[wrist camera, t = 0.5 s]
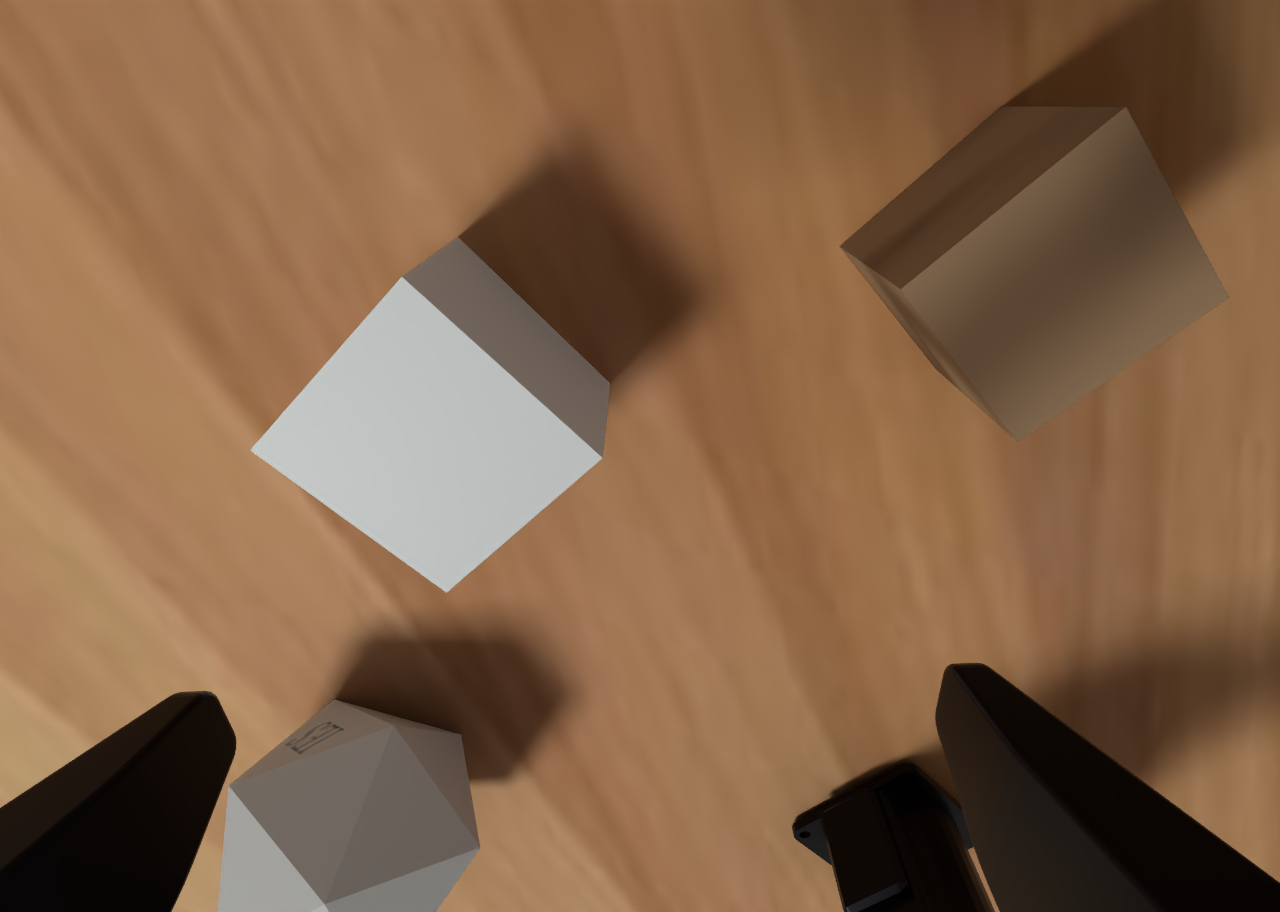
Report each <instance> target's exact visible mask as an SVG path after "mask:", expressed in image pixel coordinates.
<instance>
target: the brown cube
mask: <svg viewBox="0 0 1280 912" xmlns="http://www.w3.org/2000/svg"><path fill="white" fill-rule="evenodd" d="M840 248H841V249H842V250H843V251H844V253H845V254H846V255H847V257H848V258H849V259H850V260H851V262H852V263H853V264H854V265H855V267H856V268H857V269H858V271H859V272H860V273H861V274H862V276H863V277H864V278H865V279H866V281H867V282H868V283H869V285H870V286H871V287H872V288H873V290H874V291H875V292H876V293H877V295H878V296H879V297H880V299H881V300H882V301H883V302H884V304H885V305H886V306H887V307H888V309H889V310H890V311H891V313H892V314H893V315H894V316H895V318H896V319H897V320H898V321H899V323H900V324H901V325H902V327H903V328H904V329H905V330H906V332H907V333H908V334H909V335H910V337H911V338H912V339H913V341H914V342H915V343H916V344H917V346H918V347H919V348H920V349H921V351H922V352H923V353H924V355H925V356H926V357H927V358H928V360H929V361H930V362H931V363H932V365H933V366H934V367H935V369H936V370H937V371H939V372H940V373H941V374H942V375H943V376H944V377H945V378H946V379H948V380H949V381H950V382H951V383H952V384H953V385H954V386H955V387H957V388H958V389H959V390H960V391H961V392H962V393H963V394H964V395H965V396H967V397H968V398H969V399H970V400H971V401H972V402H973V403H974V404H976V405H977V406H978V407H979V408H980V409H981V410H982V411H983V412H985V413H986V414H987V415H988V416H989V417H990V418H991V419H992V420H994V421H995V422H996V423H997V424H998V425H999V426H1000V427H1001V428H1002V429H1004V430H1005V431H1006V432H1007V433H1008V434H1009V435H1010V436H1011V437H1013V438H1014V439H1015V440H1016V441H1017V442H1018V441H1019V440H1021V439H1022V438H1024V437H1025V436H1026V435H1028V434H1029V433H1031V432H1032V431H1034V430H1035V429H1037V428H1038V427H1040V426H1041V425H1043V424H1044V423H1046V422H1047V421H1049V420H1050V419H1052V418H1053V417H1054V416H1056V415H1057V414H1059V413H1060V412H1062V411H1063V410H1065V409H1066V408H1068V407H1069V406H1071V405H1072V404H1074V403H1075V402H1077V401H1078V400H1080V399H1081V398H1083V397H1084V396H1085V395H1087V394H1088V393H1090V392H1091V391H1093V390H1094V389H1096V388H1097V387H1099V386H1100V385H1102V384H1103V383H1105V382H1106V381H1108V380H1109V379H1111V378H1112V377H1113V376H1115V375H1116V374H1118V373H1119V372H1121V371H1122V370H1124V369H1125V368H1127V367H1128V366H1130V365H1131V364H1133V363H1134V362H1136V361H1137V360H1139V359H1140V358H1141V357H1143V356H1144V355H1146V354H1147V353H1149V352H1150V351H1152V350H1153V349H1155V348H1156V347H1158V346H1159V345H1161V344H1162V343H1164V342H1165V341H1167V340H1168V339H1169V338H1171V337H1172V336H1174V335H1175V334H1177V333H1178V332H1180V331H1181V330H1183V329H1184V328H1186V327H1187V326H1189V325H1190V324H1192V323H1193V322H1195V321H1196V320H1198V319H1199V318H1200V317H1202V316H1203V315H1205V314H1206V313H1208V312H1209V311H1211V310H1212V309H1214V308H1215V307H1217V306H1218V305H1220V304H1221V303H1223V302H1224V301H1226V300H1227V299H1228V298H1229V296H1228V294H1227V292H1226V291H1225V289H1224V287H1223V285H1222V283H1221V281H1220V279H1219V278H1218V276H1217V274H1216V272H1215V270H1214V268H1213V267H1212V265H1211V263H1210V261H1209V259H1208V257H1207V255H1206V254H1205V252H1204V250H1203V248H1202V246H1201V244H1200V242H1199V241H1198V239H1197V237H1196V235H1195V233H1194V231H1193V230H1192V228H1191V226H1190V224H1189V222H1188V220H1187V218H1186V217H1185V215H1184V213H1183V211H1182V209H1181V207H1180V205H1179V204H1178V202H1177V200H1176V198H1175V196H1174V194H1173V193H1172V191H1171V189H1170V187H1169V185H1168V183H1167V181H1166V180H1165V178H1164V176H1163V174H1162V172H1161V170H1160V168H1159V167H1158V165H1157V163H1156V161H1155V159H1154V157H1153V156H1152V154H1151V152H1150V150H1149V148H1148V146H1147V144H1146V143H1145V141H1144V139H1143V137H1142V135H1141V133H1140V131H1139V130H1138V128H1137V126H1136V124H1135V122H1134V120H1133V119H1132V117H1131V115H1130V113H1129V111H1128V109H1127V107H1000V108H999V109H998V110H997V111H995V112H994V113H993V114H992V115H991V116H990V117H988V118H987V119H986V120H985V121H984V122H983V123H982V124H980V125H979V126H978V127H977V128H976V129H975V130H973V131H972V132H971V133H970V134H969V135H968V136H967V137H965V138H964V139H963V140H962V141H961V142H960V143H958V144H957V145H956V146H955V147H954V148H953V149H951V150H950V151H949V152H948V153H947V154H946V155H945V156H943V157H942V158H941V159H940V160H939V161H938V162H936V163H935V164H934V165H933V166H932V167H931V168H930V169H928V170H927V171H926V172H925V173H924V174H923V175H921V176H920V177H919V178H918V179H917V180H916V181H915V182H913V183H912V184H911V185H910V186H909V187H908V188H906V189H905V190H904V191H903V192H902V193H901V194H900V195H898V196H897V197H896V198H895V199H894V200H893V201H891V202H890V203H889V204H888V205H887V206H886V207H885V208H883V209H882V210H881V211H880V212H879V213H878V214H876V215H875V216H874V217H873V218H872V219H871V220H869V221H868V222H867V223H866V224H865V225H864V226H863V227H861V228H860V229H859V230H858V231H857V232H856V233H854V234H853V235H852V236H851V237H850V238H849V239H848V240H846V241H845V242H844V243H843V244H842V245H841V246H840Z"/></svg>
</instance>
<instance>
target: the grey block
mask: <svg viewBox="0 0 1280 912" xmlns="http://www.w3.org/2000/svg"><path fill="white" fill-rule="evenodd" d="M609 393H610V383H609V382H608V381H607V380H606V379H605V378H604V377H603V376H602V375H601V374H600V373H599V372H598V371H597V370H596V369H595V368H594V367H593V366H592V365H591V364H590V363H589V362H587V361H586V360H585V359H584V358H583V357H582V356H581V355H580V354H579V353H578V352H577V351H576V350H575V349H574V348H573V347H572V346H571V345H570V344H569V343H568V342H567V341H566V340H565V339H564V338H562V337H561V336H560V335H559V334H558V333H557V332H556V331H555V330H554V329H553V328H552V327H551V326H550V325H549V324H548V323H547V322H546V321H545V320H544V319H543V318H542V317H541V316H540V315H539V314H538V313H536V312H535V311H534V310H533V309H532V308H531V307H530V306H529V305H528V304H527V303H526V302H525V301H524V300H523V299H522V298H521V297H520V296H519V295H518V294H517V293H516V292H515V291H514V290H513V289H512V288H510V287H509V286H508V285H507V284H506V283H505V282H504V281H503V280H502V279H501V278H500V277H499V276H498V275H497V274H496V273H495V272H494V271H493V270H492V269H491V268H490V267H489V266H488V265H487V264H486V263H484V262H483V261H482V260H481V259H480V258H479V257H478V256H477V255H476V254H475V253H474V252H473V251H472V250H471V249H470V248H469V247H468V246H467V245H466V244H465V243H464V242H463V241H462V240H461V239H460V238H458V237H457V238H455V239H454V240H453V241H451V242H450V243H448V244H447V245H446V246H444V247H443V248H441V249H440V250H439V251H437V252H436V253H434V254H433V255H432V256H430V257H429V258H427V259H426V260H425V261H423V262H422V263H420V264H419V265H418V266H416V267H415V268H413V269H412V270H411V271H409V272H408V273H406V274H405V275H404V276H402V277H401V278H400V279H399V281H398V282H397V283H396V284H395V285H394V286H393V287H392V289H391V290H390V291H389V292H388V293H387V294H386V295H385V297H384V298H383V299H382V300H381V301H380V302H379V303H378V305H377V306H376V307H375V308H374V309H373V310H372V311H371V313H370V314H369V315H368V316H367V317H366V318H365V319H364V321H363V322H362V323H361V324H360V325H359V326H358V327H357V329H356V330H355V331H354V332H353V333H352V334H351V336H350V337H349V338H348V339H347V340H346V341H345V342H344V344H343V345H342V346H341V347H340V348H339V349H338V350H337V352H336V353H335V354H334V355H333V356H332V357H331V358H330V360H329V361H328V362H327V363H326V364H325V365H324V366H323V368H322V369H321V370H320V371H319V372H318V373H317V374H316V376H315V377H314V378H313V379H312V380H311V381H310V382H309V384H308V385H307V386H306V387H305V388H304V389H303V390H302V392H301V393H300V394H299V395H298V396H297V397H296V398H295V400H294V401H293V402H292V403H291V404H290V405H289V407H288V408H287V409H286V410H285V411H284V412H283V413H282V415H281V416H280V417H279V418H278V419H277V420H276V421H275V423H274V424H273V425H272V426H271V427H270V428H269V429H268V431H267V432H266V433H265V434H264V435H263V436H262V437H261V439H260V440H259V441H258V442H257V443H256V444H255V445H254V447H253V448H252V449H251V450H250V451H252V452H253V453H255V454H256V455H257V456H259V457H260V458H261V459H263V460H264V461H266V462H267V463H268V464H270V465H271V466H272V467H274V468H275V469H277V470H278V471H279V472H281V473H282V474H284V475H285V476H286V477H288V478H289V479H290V480H292V481H293V482H295V483H296V484H297V485H299V486H300V487H301V488H303V489H304V490H306V491H307V492H308V493H310V494H311V495H312V496H314V497H315V498H317V499H318V500H319V501H321V502H322V503H324V504H325V505H326V506H328V507H329V508H330V509H332V510H333V511H335V512H336V513H337V514H339V515H340V516H341V517H343V518H344V519H346V520H347V521H348V522H350V523H351V524H352V525H354V526H355V527H357V528H358V529H359V530H361V531H362V532H364V533H365V534H366V535H368V536H369V537H370V538H372V539H373V540H375V541H376V542H377V543H379V544H380V545H381V546H383V547H384V548H386V549H387V550H388V551H390V552H391V553H392V554H394V555H395V556H397V557H398V558H399V559H401V560H402V561H404V562H405V563H406V564H408V565H409V566H410V567H412V568H413V569H415V570H416V571H417V572H419V573H420V574H421V575H423V576H424V577H426V578H427V579H428V580H430V581H431V582H432V583H434V584H435V585H437V586H438V587H439V588H441V589H442V590H444V591H445V592H446V593H447V592H448V591H449V590H450V589H451V588H452V587H454V586H455V585H456V584H457V583H458V582H459V581H461V580H462V579H463V578H464V577H465V576H466V575H468V574H469V573H470V572H471V571H472V570H473V569H474V568H476V567H477V566H478V565H479V564H480V563H481V562H483V561H484V560H485V559H486V558H487V557H488V556H490V555H491V554H492V553H493V552H494V551H495V550H496V549H498V548H499V547H500V546H501V545H502V544H503V543H505V542H506V541H507V540H508V539H509V538H510V537H512V536H513V535H514V534H515V533H516V532H517V531H519V530H520V529H521V528H522V527H523V526H524V525H525V524H527V523H528V522H529V521H530V520H531V519H532V518H534V517H535V516H536V515H537V514H538V513H539V512H541V511H542V510H543V509H544V508H545V507H546V506H547V505H549V504H550V503H551V502H552V501H553V500H554V499H556V498H557V497H558V496H559V495H560V494H561V493H563V492H564V491H565V490H566V489H567V488H568V487H569V486H571V485H572V484H573V483H574V482H575V481H576V480H578V479H579V478H580V477H581V476H582V475H583V474H585V473H586V472H587V471H588V470H589V469H590V468H592V467H593V466H594V465H595V464H596V463H597V462H598V461H600V460H601V459H602V458H603V449H604V440H605V430H606V421H607V412H608V402H609Z"/></svg>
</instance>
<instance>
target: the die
mask: <svg viewBox="0 0 1280 912" xmlns="http://www.w3.org/2000/svg"><path fill="white" fill-rule="evenodd" d="M479 849H480V843H479V838H478V832H477V826H476V820H475V814H474V808H473V802H472V796H471V790H470V784H469V779H468V773H467V767H466V761H465V755H464V749H463V743H462V737H461V734H458V733H454V732H450V731H447V730H443V729H440V728H436V727H432V726H429V725H425V724H422V723H418V722H414V721H411V720H407V719H403V718H400V717H396V716H393V715H389V714H385V713H382V712H378V711H375V710H371V709H367V708H364V707H360V706H357V705H353V704H349V703H346V702H342V701H338V700H335V699H334V700H333V701H332V702H330V703H329V704H328V705H327V706H326V707H324V708H323V709H322V710H321V711H319V712H318V713H317V714H316V715H315V716H313V717H312V718H311V719H310V720H308V721H307V722H306V723H305V724H304V725H302V726H301V727H300V728H299V729H297V730H296V731H295V732H294V733H293V734H291V735H290V736H289V737H288V738H286V739H285V740H284V741H283V742H282V743H280V744H279V745H278V746H277V747H275V748H274V749H273V750H272V751H271V752H269V753H268V754H267V755H266V756H264V757H263V758H262V759H261V760H260V761H258V762H257V763H256V764H255V765H253V766H252V767H251V768H250V769H249V770H247V771H246V772H245V773H244V774H242V775H241V776H240V777H239V778H238V779H236V780H235V781H234V782H233V783H231V784H230V785H229V788H228V800H227V812H226V823H225V835H224V846H223V858H222V869H221V881H220V892H219V904H218V912H436V911H437V909H438V908H439V906H440V905H441V903H442V902H443V901H444V899H445V898H446V896H447V895H448V893H449V892H450V890H451V889H452V888H453V886H454V885H455V883H456V882H457V880H458V879H459V877H460V876H461V875H462V873H463V872H464V870H465V869H466V867H467V866H468V864H469V863H470V862H471V860H472V859H473V857H474V856H475V854H476V853H477V851H478V850H479Z"/></svg>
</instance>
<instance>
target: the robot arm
mask: <svg viewBox="0 0 1280 912" xmlns="http://www.w3.org/2000/svg"><path fill="white" fill-rule="evenodd" d="M935 719H936V727H937V731H938V735H939V738H940V741H941V744H942V748H943V751H944V754H945V757H946V760H947V763H948V767H949V770H950V773H951V776H952V779H953V783H954V786H955V789H956V792H957V795H958V798H959V802H960V804H959V803H958V802H957V801H956V800H955V799H954V798H953V797H951V796H950V795H949V794H948V793H947V792H946V791H945V790H943V789H942V788H941V787H940V786H939V785H938V784H937V783H935V782H934V781H933V780H932V779H931V778H930V777H929V776H928V775H926V774H925V773H924V772H923V771H922V770H921V769H920V768H918V767H917V766H916V765H914V764H911V763H906V764H902V765H899V766H897V767H896V768H894V769H892V770H890V771H888V772H886V773H885V774H883V775H881V776H879V777H877V778H875V779H873V780H872V781H870V782H868V783H866V784H864V785H862V786H861V787H859V788H857V789H855V790H853V791H851V792H849V793H848V794H846V795H844V796H842V797H840V798H838V799H836V800H835V801H833V802H831V803H829V804H827V805H825V806H824V807H822V808H820V809H818V810H816V811H814V812H812V813H811V814H809V815H807V816H805V817H803V818H801V819H799V820H798V821H796V822H795V823H793V825H792V829H793V834H794V838H795V839H796V840H797V841H799V842H800V843H802V844H803V845H804V846H806V847H807V848H808V849H810V850H811V851H813V852H814V853H815V854H817V855H818V856H819V857H821V858H822V859H824V860H825V861H826V862H828V863H829V864H830V865H832V867H833V871H834V875H835V879H836V883H837V887H838V891H839V895H840V899H841V903H842V907H843V910H844V912H995V911H994V908H993V906H992V904H991V901H990V899H989V897H988V895H987V892H986V890H985V888H984V886H983V883H982V881H981V879H980V876H979V874H978V872H977V870H976V867H975V865H974V863H973V861H972V858H971V856H970V854H969V852H968V849H970V848H972V847H974V849H975V851H976V854H977V857H978V860H979V863H980V865H981V868H982V870H983V873H984V875H985V878H986V880H987V883H988V885H989V888H990V890H991V892H992V895H993V897H994V899H995V902H996V904H997V906H998V909H999V911H1000V912H1280V883H1279V882H1278V881H1277V880H1275V879H1274V878H1273V877H1271V876H1270V875H1269V874H1267V873H1266V872H1265V871H1263V870H1262V869H1261V868H1259V867H1258V866H1256V865H1255V864H1254V863H1252V862H1251V861H1250V860H1248V859H1247V858H1246V857H1244V856H1243V855H1242V854H1240V853H1239V852H1238V851H1236V850H1235V849H1234V848H1232V847H1231V846H1230V845H1228V844H1227V843H1225V842H1224V841H1223V840H1221V839H1220V838H1219V837H1217V836H1216V835H1215V834H1213V833H1212V832H1211V831H1209V830H1208V829H1207V828H1205V827H1204V826H1203V825H1201V824H1200V823H1199V822H1197V821H1196V820H1194V819H1193V818H1192V817H1190V816H1189V815H1188V814H1186V813H1185V812H1184V811H1182V810H1181V809H1180V808H1178V807H1177V806H1176V805H1174V804H1173V803H1172V802H1170V801H1169V800H1168V799H1166V798H1165V797H1164V796H1162V795H1161V794H1159V793H1158V792H1157V791H1155V790H1154V789H1153V788H1151V787H1150V786H1149V785H1147V784H1146V783H1145V782H1143V781H1142V780H1141V779H1139V778H1138V777H1137V776H1135V775H1134V774H1133V773H1131V772H1130V771H1128V770H1127V769H1126V768H1124V767H1123V766H1122V765H1120V764H1119V763H1118V762H1116V761H1115V760H1114V759H1112V758H1111V757H1110V756H1108V755H1107V754H1106V753H1104V752H1103V751H1102V750H1100V749H1099V748H1098V747H1096V746H1095V745H1093V744H1092V743H1091V742H1089V741H1088V740H1087V739H1085V738H1084V737H1083V736H1081V735H1080V734H1079V733H1077V732H1076V731H1075V730H1073V729H1072V728H1071V727H1069V726H1068V725H1067V724H1065V723H1064V722H1062V721H1061V720H1060V719H1058V718H1057V717H1056V716H1054V715H1053V714H1052V713H1050V712H1049V711H1048V710H1046V709H1045V708H1044V707H1042V706H1041V705H1040V704H1038V703H1037V702H1036V701H1034V700H1033V699H1031V698H1030V697H1029V696H1027V695H1026V694H1025V693H1023V692H1022V691H1021V690H1019V689H1018V688H1017V687H1015V686H1014V685H1013V684H1011V683H1010V682H1009V681H1007V680H1006V679H1005V678H1003V677H1002V676H1001V675H999V674H998V673H996V672H995V671H994V670H992V669H991V668H990V667H988V666H986V665H984V664H981V663H960V664H950V665H948V666H947V667H946V669H945V671H944V674H943V679H942V683H941V688H940V693H939V698H938V702H937V707H936V715H935ZM235 751H236V736H235V733H234V731H233V729H232V727H231V725H230V723H229V720H228V718H227V716H226V714H225V712H224V710H223V708H222V706H221V704H220V702H219V700H218V698H217V696H216V695H214V694H213V693H212V692H208V691H194V692H180V693H176V694H173V695H171V696H170V697H168V698H166V699H165V700H163V701H162V702H160V703H159V704H157V705H156V706H154V707H153V708H151V709H150V710H148V711H147V712H145V713H144V714H142V715H141V716H139V717H138V718H136V719H135V720H133V721H131V722H130V723H128V724H127V725H125V726H124V727H122V728H121V729H119V730H118V731H116V732H115V733H113V734H112V735H110V736H109V737H107V738H106V739H104V740H103V741H101V742H100V743H98V744H97V745H95V746H94V747H92V748H91V749H89V750H87V751H86V752H84V753H83V754H81V755H80V756H78V757H77V758H75V759H74V760H72V761H71V762H69V763H68V764H66V765H65V766H63V767H62V768H60V769H59V770H57V771H56V772H54V773H53V774H51V775H50V776H48V777H47V778H45V779H43V780H42V781H40V782H39V783H37V784H36V785H34V786H33V787H31V788H30V789H28V790H27V791H25V792H24V793H22V794H21V795H19V796H18V797H16V798H15V799H13V800H12V801H10V802H9V803H7V804H6V805H4V806H3V807H1V808H0V912H171V911H172V909H173V907H174V905H175V903H176V901H177V899H178V897H179V894H180V892H181V890H182V888H183V886H184V884H185V881H186V879H187V876H188V874H189V872H190V869H191V867H192V865H193V862H194V860H195V857H196V854H197V852H198V849H199V847H200V844H201V841H202V839H203V836H204V834H205V831H206V828H207V826H208V823H209V821H210V818H211V816H212V813H213V810H214V808H215V805H216V803H217V800H218V797H219V795H220V792H221V790H222V787H223V784H224V782H225V779H226V777H227V774H228V772H229V769H230V766H231V764H232V761H233V759H234V755H235Z"/></svg>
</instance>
